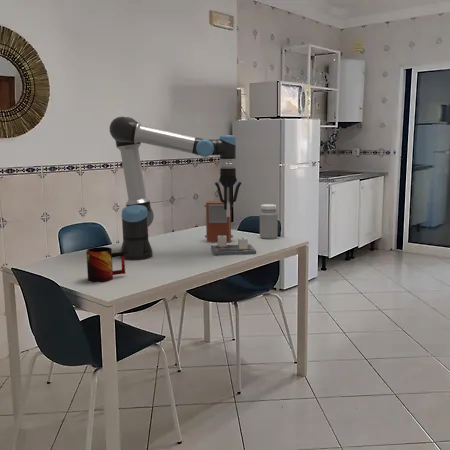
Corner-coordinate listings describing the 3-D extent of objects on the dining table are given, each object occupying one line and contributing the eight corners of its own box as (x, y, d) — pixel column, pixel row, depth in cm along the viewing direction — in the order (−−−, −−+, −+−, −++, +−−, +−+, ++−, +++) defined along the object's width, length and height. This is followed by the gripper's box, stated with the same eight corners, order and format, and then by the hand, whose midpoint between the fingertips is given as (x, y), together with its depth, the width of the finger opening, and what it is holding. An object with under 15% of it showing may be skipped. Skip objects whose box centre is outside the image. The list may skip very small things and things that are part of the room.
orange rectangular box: (205, 240, 280) (233, 240, 279) (203, 242, 273) (232, 242, 272) (204, 200, 276) (233, 200, 275) (203, 202, 270) (231, 202, 268)
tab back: (218, 246, 253) (218, 236, 252) (217, 245, 256) (217, 235, 256) (226, 246, 253) (226, 236, 253) (225, 244, 257) (225, 235, 256)
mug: (126, 276, 209) (124, 246, 207) (98, 284, 199) (97, 253, 197) (110, 272, 215) (108, 244, 213) (82, 280, 204) (81, 250, 202)
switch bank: (214, 255, 243) (214, 251, 243) (210, 248, 259) (210, 244, 258) (256, 254, 245) (256, 249, 245) (250, 247, 261) (250, 243, 261)
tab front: (239, 249, 246) (239, 239, 245) (238, 247, 250) (238, 237, 249) (247, 249, 247) (247, 238, 246) (246, 247, 250) (246, 237, 249)
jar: (257, 236, 287) (256, 204, 284) (273, 235, 290) (273, 203, 287) (263, 240, 278) (263, 206, 275) (280, 238, 281) (280, 205, 278)
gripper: (215, 168, 245) (215, 217, 249) (242, 168, 246) (242, 217, 250) (213, 167, 252) (214, 215, 256) (240, 167, 254) (240, 215, 257)
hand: (228, 216), depth 253 cm, fingers closed
